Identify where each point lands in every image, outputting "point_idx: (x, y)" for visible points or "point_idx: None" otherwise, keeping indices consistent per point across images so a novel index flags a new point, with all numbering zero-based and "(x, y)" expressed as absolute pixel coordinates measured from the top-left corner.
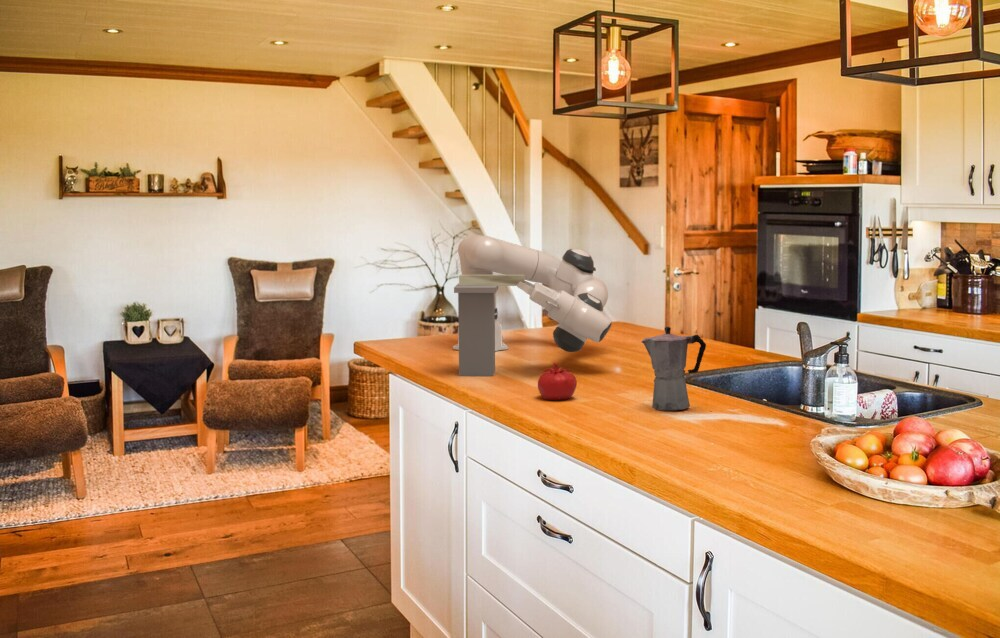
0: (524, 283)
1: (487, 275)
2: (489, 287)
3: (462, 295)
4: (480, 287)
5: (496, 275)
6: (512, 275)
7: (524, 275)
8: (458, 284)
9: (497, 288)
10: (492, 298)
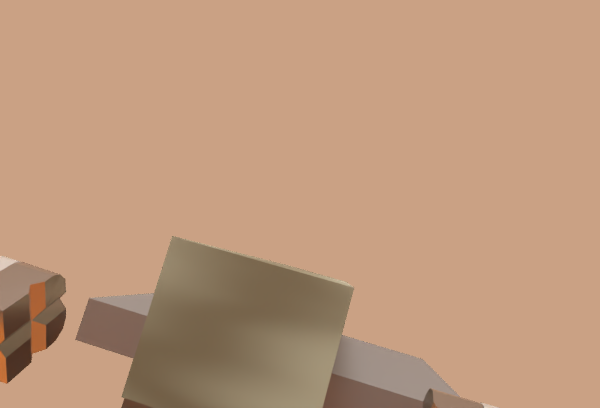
0: (3, 303)
1: (278, 263)
2: (121, 298)
3: None
4: (147, 296)
5: (266, 260)
6: (234, 252)
7: (264, 269)
8: (355, 339)
9: (323, 406)
10: (124, 401)
